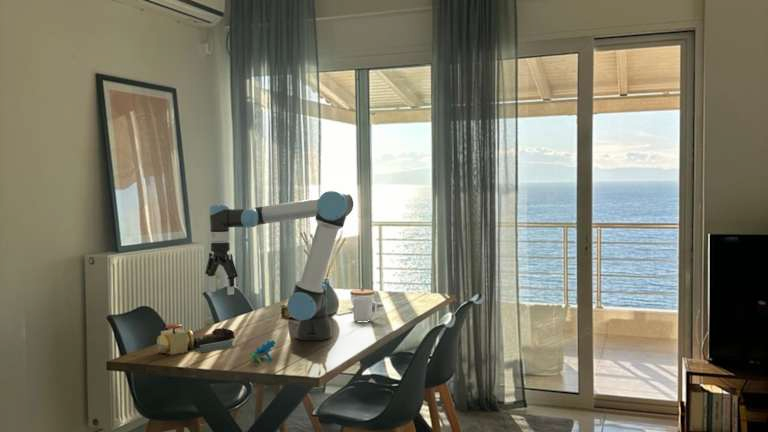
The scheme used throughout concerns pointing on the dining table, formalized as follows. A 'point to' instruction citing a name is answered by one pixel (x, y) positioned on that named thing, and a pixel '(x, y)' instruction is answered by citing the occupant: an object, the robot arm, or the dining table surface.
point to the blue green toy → (263, 351)
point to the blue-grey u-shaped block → (214, 346)
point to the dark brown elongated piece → (213, 337)
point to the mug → (363, 308)
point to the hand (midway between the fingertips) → (221, 293)
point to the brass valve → (175, 340)
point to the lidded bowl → (362, 293)
